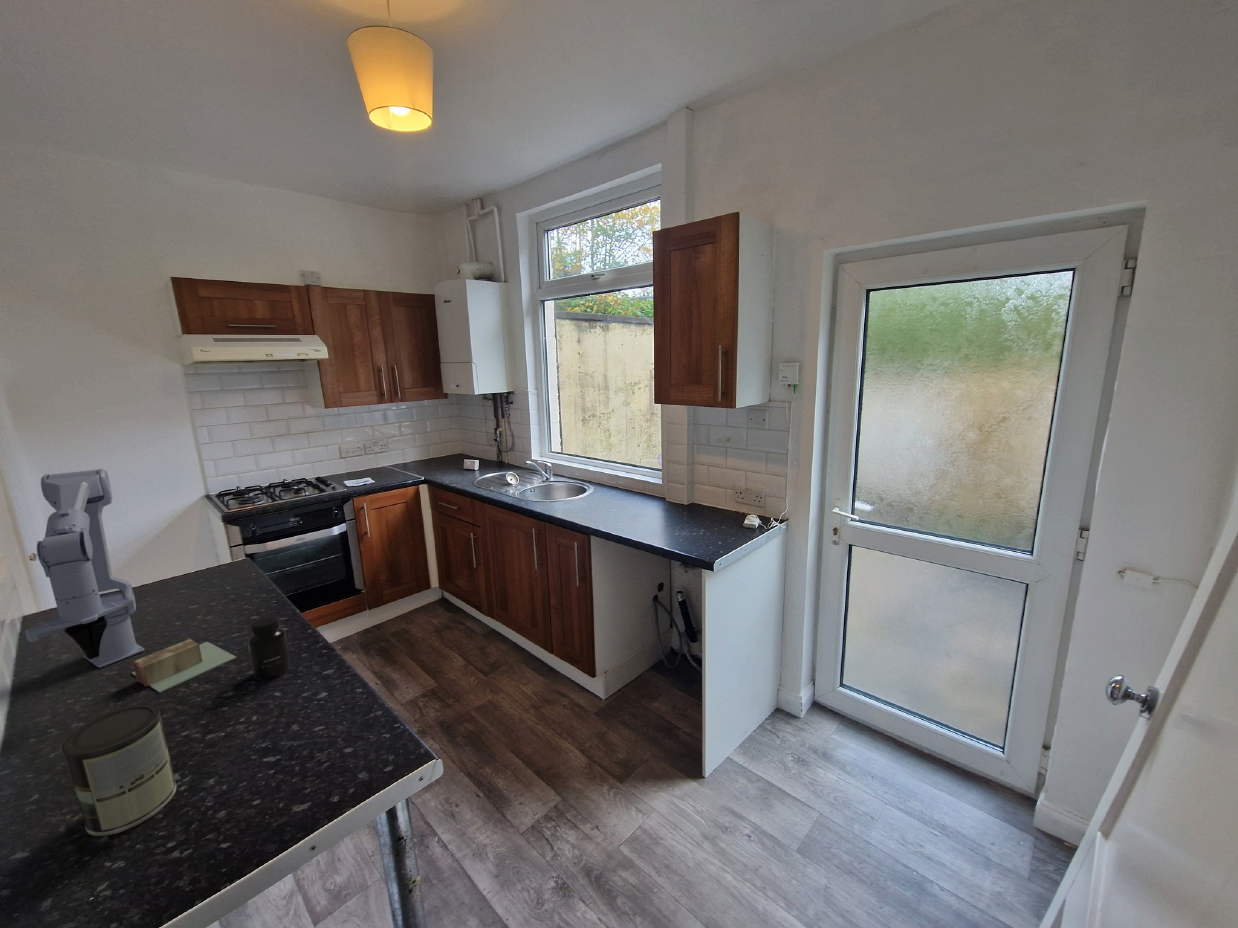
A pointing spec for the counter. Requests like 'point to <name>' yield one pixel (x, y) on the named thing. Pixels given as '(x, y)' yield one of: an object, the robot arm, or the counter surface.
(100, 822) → the coffee can
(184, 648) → the maple block
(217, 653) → the mat
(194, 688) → the counter surface
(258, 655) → the supplement bottle
